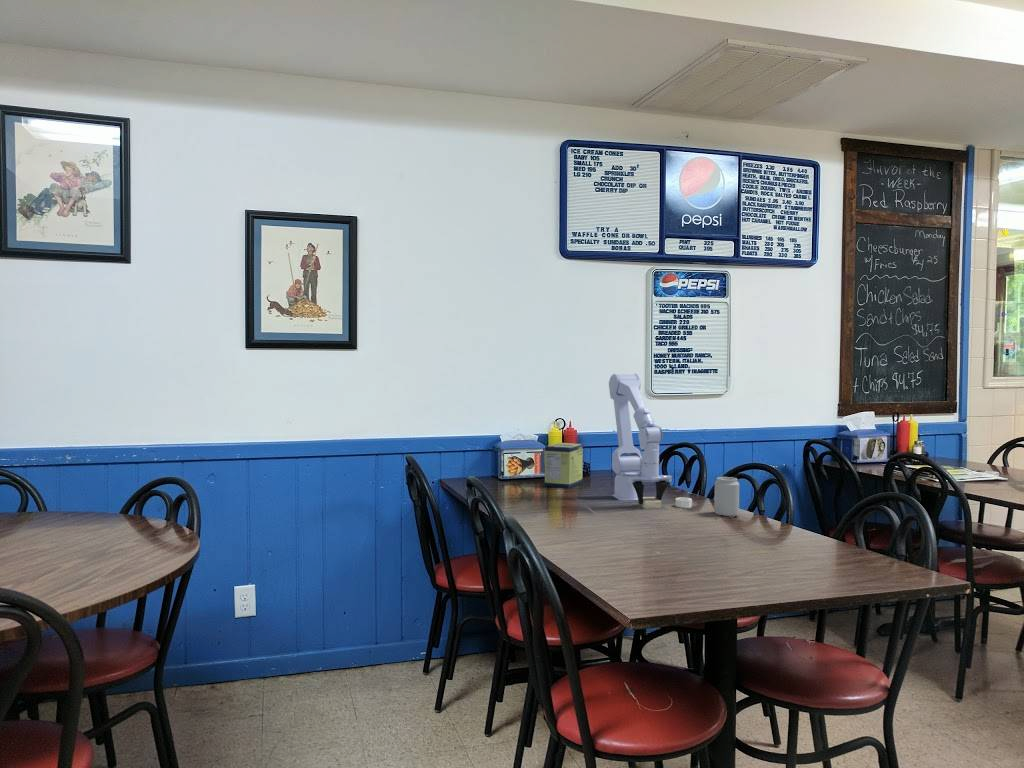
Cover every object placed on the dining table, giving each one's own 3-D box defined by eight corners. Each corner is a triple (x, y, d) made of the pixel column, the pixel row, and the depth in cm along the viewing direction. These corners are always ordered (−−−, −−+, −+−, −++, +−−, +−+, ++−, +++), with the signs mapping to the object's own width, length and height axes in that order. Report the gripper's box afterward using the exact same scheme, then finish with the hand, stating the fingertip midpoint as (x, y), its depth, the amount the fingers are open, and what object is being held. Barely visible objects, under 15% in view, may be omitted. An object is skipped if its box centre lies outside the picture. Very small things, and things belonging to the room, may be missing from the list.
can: (741, 518, 234) (742, 479, 234) (717, 517, 234) (718, 479, 234) (735, 513, 242) (735, 476, 241) (711, 512, 242) (712, 475, 241)
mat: (629, 504, 255) (629, 502, 255) (655, 503, 256) (655, 501, 256) (641, 511, 243) (641, 509, 243) (668, 510, 244) (668, 509, 244)
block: (637, 504, 252) (637, 497, 252) (653, 503, 253) (653, 496, 253) (645, 508, 244) (645, 501, 244) (661, 508, 245) (661, 501, 245)
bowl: (673, 506, 252) (673, 497, 252) (687, 506, 252) (688, 497, 252) (679, 509, 246) (679, 500, 246) (694, 509, 247) (694, 500, 247)
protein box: (582, 482, 299) (583, 443, 298) (569, 488, 285) (570, 447, 284) (558, 480, 303) (558, 442, 303) (544, 486, 289) (544, 446, 288)
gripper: (632, 465, 243) (632, 506, 243) (675, 464, 245) (674, 505, 246) (626, 461, 250) (625, 502, 250) (667, 461, 252) (667, 501, 253)
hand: (649, 503), depth 249 cm, fingers closed on block, 5 cm apart
